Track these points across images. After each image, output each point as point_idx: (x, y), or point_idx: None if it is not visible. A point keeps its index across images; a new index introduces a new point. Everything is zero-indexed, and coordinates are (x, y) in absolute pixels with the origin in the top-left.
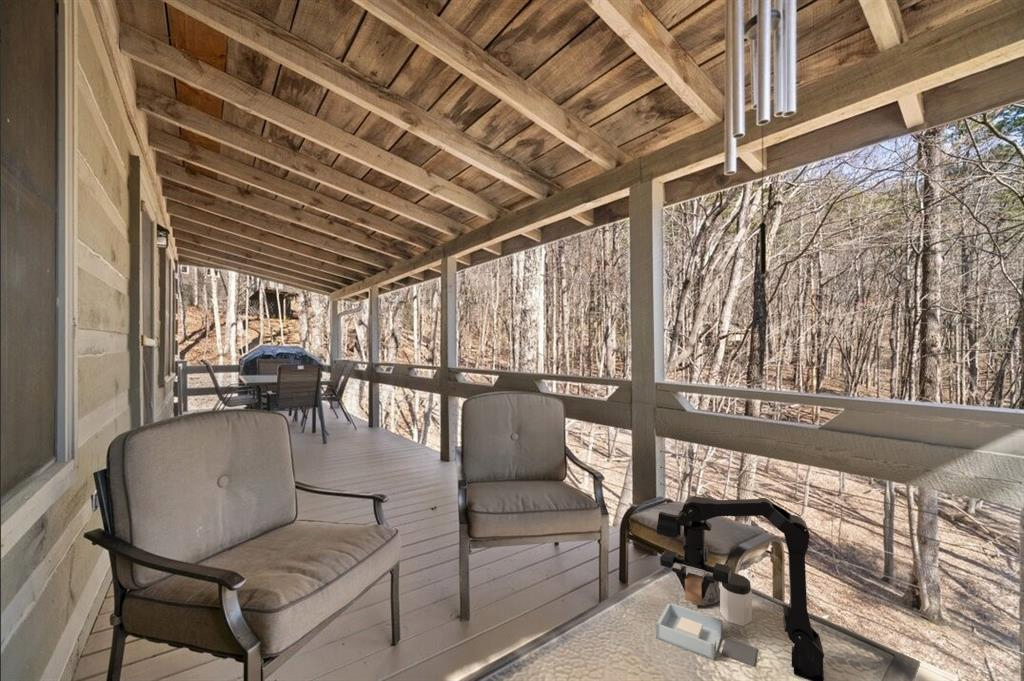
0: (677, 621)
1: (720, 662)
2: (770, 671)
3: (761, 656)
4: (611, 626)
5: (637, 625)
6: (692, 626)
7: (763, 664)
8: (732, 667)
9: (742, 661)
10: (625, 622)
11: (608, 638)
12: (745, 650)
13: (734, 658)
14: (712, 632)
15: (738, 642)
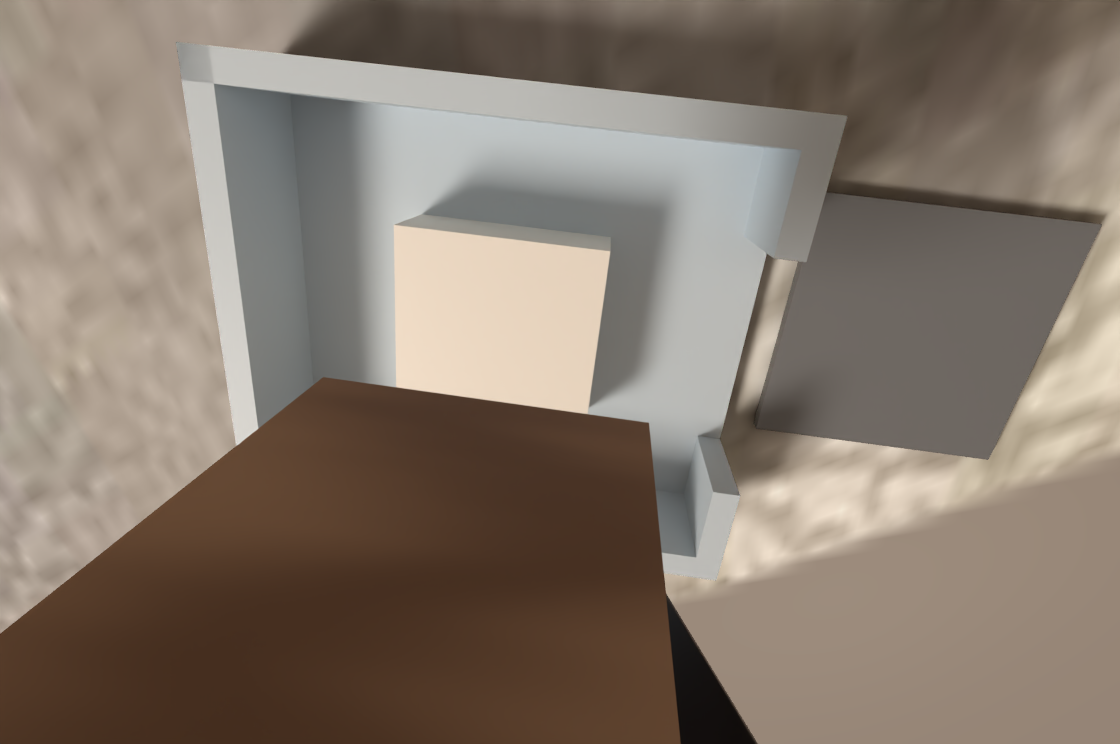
0: (377, 178)
1: (739, 501)
2: (1098, 449)
3: (1095, 301)
4: (21, 457)
5: (140, 367)
6: (520, 339)
7: (1071, 395)
8: (816, 515)
9: (905, 446)
10: (58, 373)
11: (83, 565)
12: (970, 308)
13: (848, 439)
14: (700, 190)
15: (933, 219)
